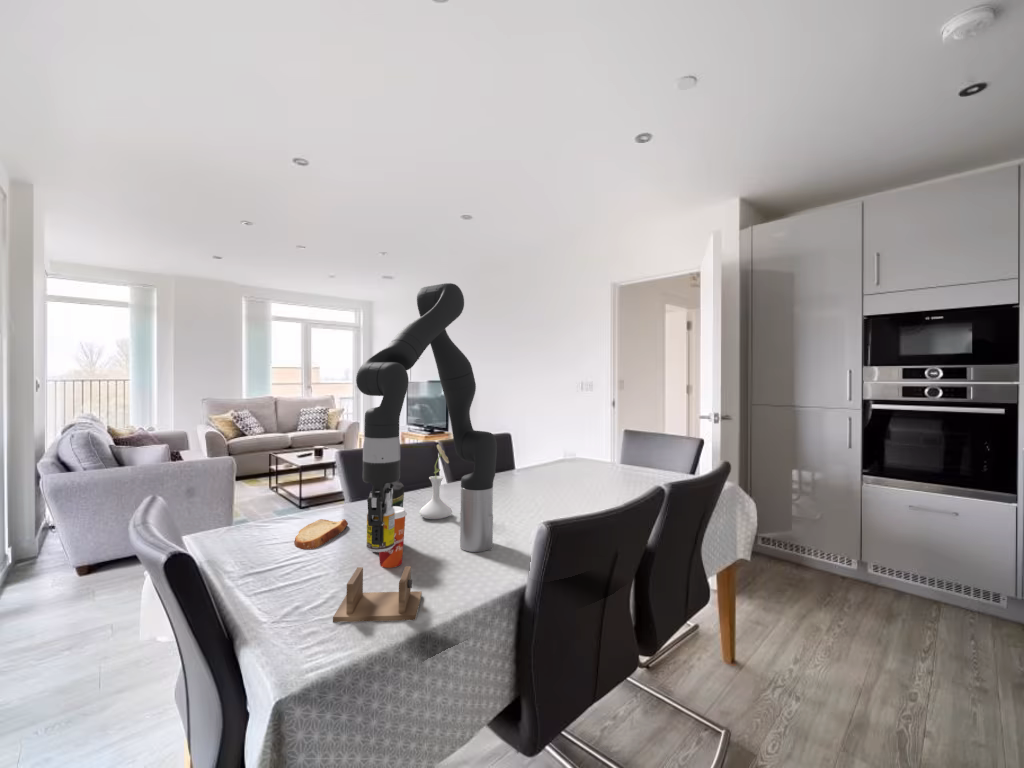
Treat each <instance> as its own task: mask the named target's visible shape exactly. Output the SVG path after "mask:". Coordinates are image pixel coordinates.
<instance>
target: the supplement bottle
mask: <svg viewBox="0 0 1024 768" xmlns="http://www.w3.org/2000/svg"><path fill="white" fill-rule="evenodd" d="M383 509H384V508H382V510H383ZM374 520H378V515H375V519H374ZM394 526H395V510H394V508H393V507H391V499H389V501H388V512H387V514H385V517H384V541H383V543H382V544H381V545H373V544H372V526H369V525H368V510H367V512H366V549H367V551H369V552H371V553H372V552H374V553H378V552H384V551H388V550H390V549H391V548H393V546H394Z"/></svg>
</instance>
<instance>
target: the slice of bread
mask: <svg viewBox="0 0 1024 768" xmlns="http://www.w3.org/2000/svg"><path fill="white" fill-rule="evenodd" d="M348 524H349V523H348V521H347V519H345V518H344V519H341V520H340V521H333V520H329V519H322V518H321V519H320V518H319V519H318V520H316V521H313V522H311V523H309V524H307V525H306V526H304V527H303V528H301V529H300V530H299V531H298V534H297V535H296V536H295V538H294V542H293V543H294V546H295V547H296V548H297V549H300V550H314V549H316V548H318V547H320V546H322V545H325V544H326V543H329V541H331V540H333V539H334V538H336V537H337V536H339V534H341V533H342V532H343V531H344V530H346V529H345V528H346V527H348Z"/></svg>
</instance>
